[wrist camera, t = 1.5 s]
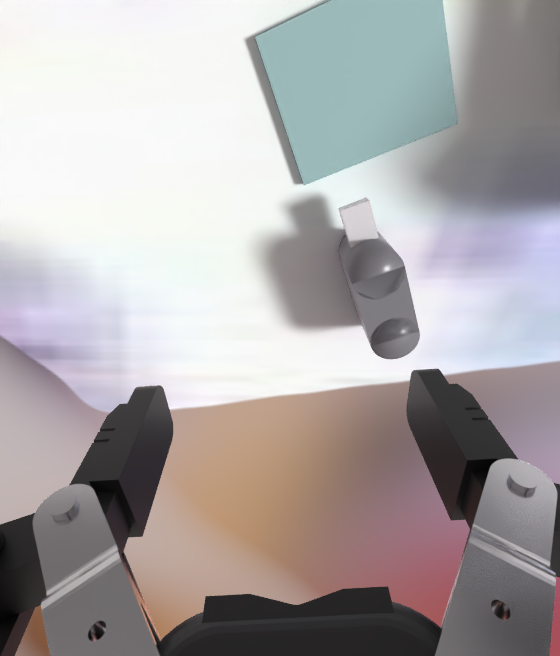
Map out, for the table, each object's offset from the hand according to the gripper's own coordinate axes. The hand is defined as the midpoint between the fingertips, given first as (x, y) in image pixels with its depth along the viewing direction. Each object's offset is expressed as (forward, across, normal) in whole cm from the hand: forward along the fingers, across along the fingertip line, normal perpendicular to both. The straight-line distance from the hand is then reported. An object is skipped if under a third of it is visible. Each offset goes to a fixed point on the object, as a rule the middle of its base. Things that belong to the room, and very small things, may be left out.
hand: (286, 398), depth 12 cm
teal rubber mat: (+22, -6, -10) cm, 25 cm away
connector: (+22, -8, +4) cm, 24 cm away
